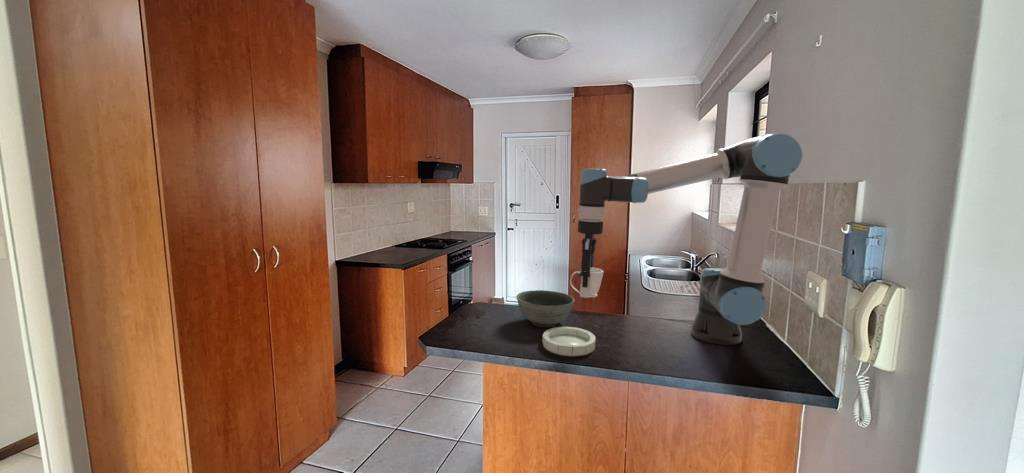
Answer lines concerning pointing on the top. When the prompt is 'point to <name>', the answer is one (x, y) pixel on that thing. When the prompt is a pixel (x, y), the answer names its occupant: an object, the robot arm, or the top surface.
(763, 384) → the top surface
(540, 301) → the bowl
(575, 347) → the tray
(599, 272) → the cup
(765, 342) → the top surface
